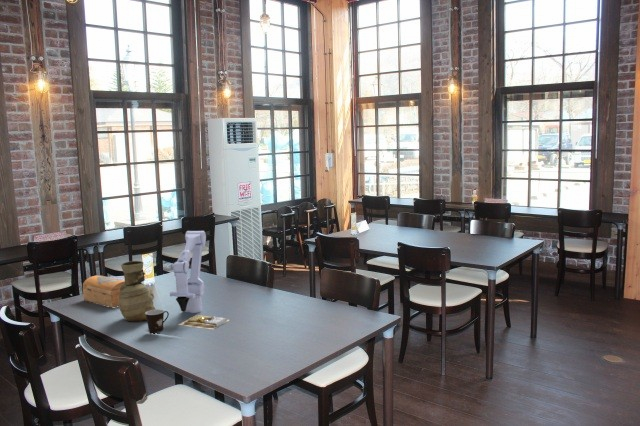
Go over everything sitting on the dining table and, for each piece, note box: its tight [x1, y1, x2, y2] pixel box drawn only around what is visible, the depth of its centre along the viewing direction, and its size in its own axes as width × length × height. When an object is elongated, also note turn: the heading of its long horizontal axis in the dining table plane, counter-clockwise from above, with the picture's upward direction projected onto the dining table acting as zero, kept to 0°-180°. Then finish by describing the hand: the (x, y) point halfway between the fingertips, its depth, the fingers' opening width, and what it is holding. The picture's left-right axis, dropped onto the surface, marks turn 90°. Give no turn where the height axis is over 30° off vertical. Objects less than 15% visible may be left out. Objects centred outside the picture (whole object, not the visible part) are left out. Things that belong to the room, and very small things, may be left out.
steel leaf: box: [204, 316, 226, 328], centre depth 288 cm, size 7×8×2 cm
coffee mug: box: [145, 308, 170, 335], centre depth 282 cm, size 12×9×10 cm
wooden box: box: [82, 274, 125, 308], centre depth 337 cm, size 30×16×14 cm, turn 51°
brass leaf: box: [186, 314, 206, 323], centre depth 292 cm, size 7×8×2 cm
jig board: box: [177, 315, 230, 330], centre depth 291 cm, size 21×15×2 cm
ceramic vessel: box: [118, 260, 156, 323], centre depth 303 cm, size 19×21×30 cm
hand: (183, 310), depth 295 cm, fingers closed
